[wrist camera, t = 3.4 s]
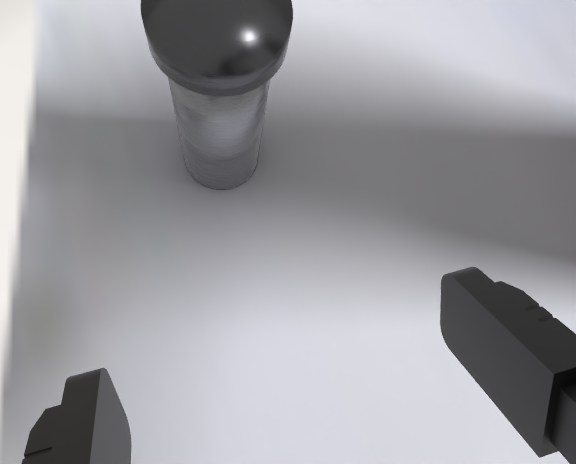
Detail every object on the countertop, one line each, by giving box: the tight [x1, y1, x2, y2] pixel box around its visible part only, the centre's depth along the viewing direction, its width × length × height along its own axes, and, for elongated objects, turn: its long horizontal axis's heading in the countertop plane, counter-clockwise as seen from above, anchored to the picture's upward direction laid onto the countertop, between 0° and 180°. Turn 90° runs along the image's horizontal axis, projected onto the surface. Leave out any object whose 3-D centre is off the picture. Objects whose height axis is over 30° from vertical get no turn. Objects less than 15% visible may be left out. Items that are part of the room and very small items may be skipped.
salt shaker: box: [141, 0, 293, 190], centre depth 19 cm, size 4×4×10 cm
